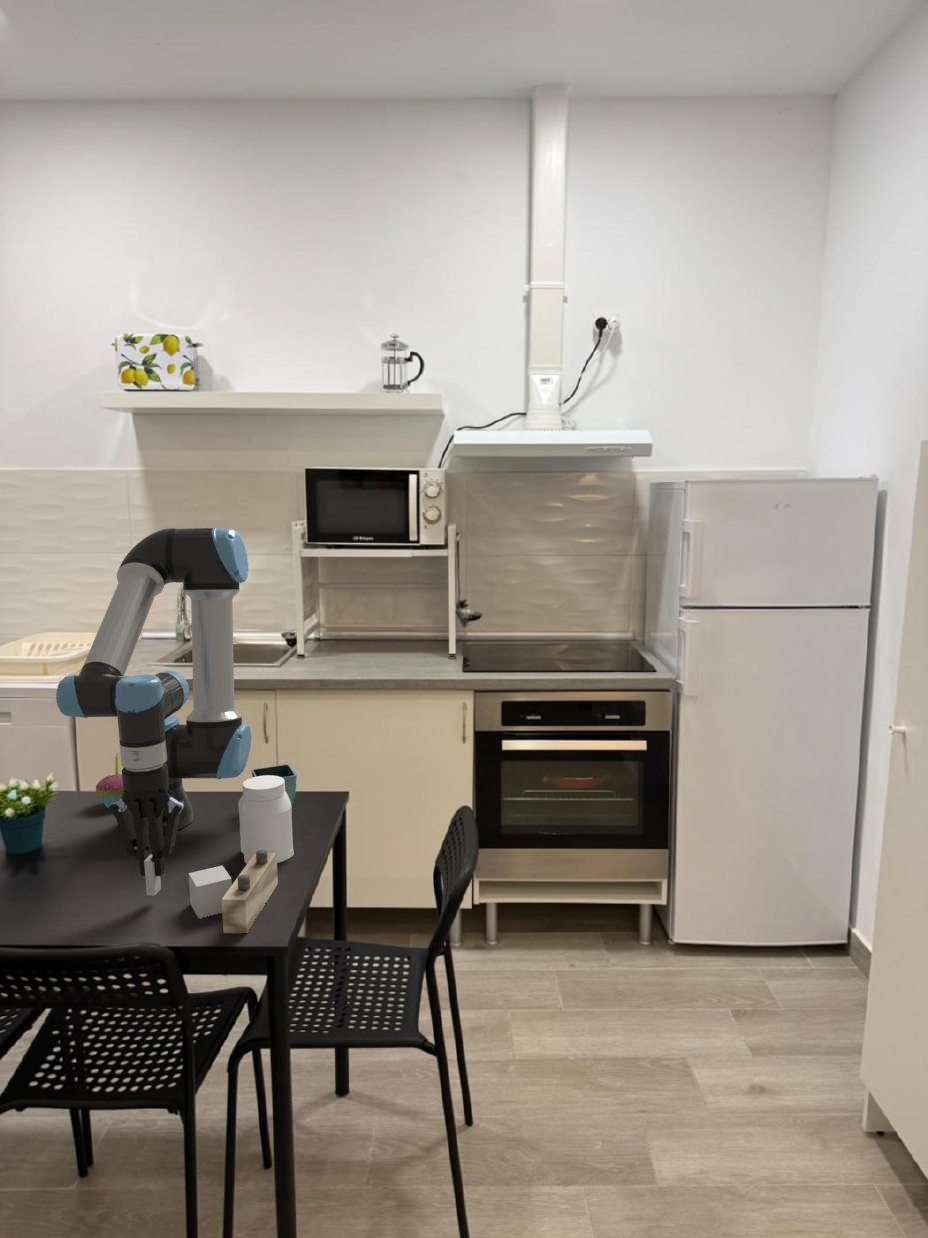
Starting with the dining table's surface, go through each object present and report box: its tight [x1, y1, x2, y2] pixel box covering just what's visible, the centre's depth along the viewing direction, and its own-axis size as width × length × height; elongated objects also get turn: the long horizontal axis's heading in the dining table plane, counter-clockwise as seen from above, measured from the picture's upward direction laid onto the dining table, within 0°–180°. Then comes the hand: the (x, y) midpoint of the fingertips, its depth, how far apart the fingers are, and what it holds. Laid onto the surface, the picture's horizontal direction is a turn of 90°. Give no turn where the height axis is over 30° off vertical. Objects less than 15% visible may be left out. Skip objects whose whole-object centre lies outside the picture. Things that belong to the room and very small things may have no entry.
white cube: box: [188, 865, 233, 919], centre depth 151 cm, size 6×6×6 cm
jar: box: [237, 775, 295, 865], centre depth 172 cm, size 12×10×15 cm
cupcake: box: [95, 752, 124, 809], centre depth 199 cm, size 9×8×12 cm
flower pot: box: [251, 763, 298, 807], centre depth 196 cm, size 9×9×9 cm
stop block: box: [221, 850, 279, 934], centre depth 151 cm, size 4×18×8 cm, turn 176°
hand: (153, 891), depth 153 cm, fingers closed
